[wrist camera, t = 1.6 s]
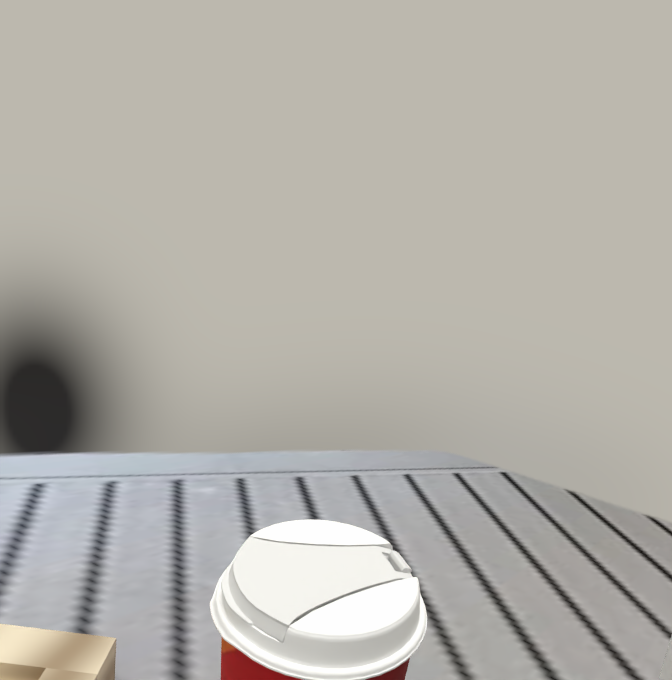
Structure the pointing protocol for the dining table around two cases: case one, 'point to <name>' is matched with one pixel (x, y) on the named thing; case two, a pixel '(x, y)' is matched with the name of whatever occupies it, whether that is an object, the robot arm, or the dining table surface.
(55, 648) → the tray
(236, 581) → the paper cup
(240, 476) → the dining table surface
